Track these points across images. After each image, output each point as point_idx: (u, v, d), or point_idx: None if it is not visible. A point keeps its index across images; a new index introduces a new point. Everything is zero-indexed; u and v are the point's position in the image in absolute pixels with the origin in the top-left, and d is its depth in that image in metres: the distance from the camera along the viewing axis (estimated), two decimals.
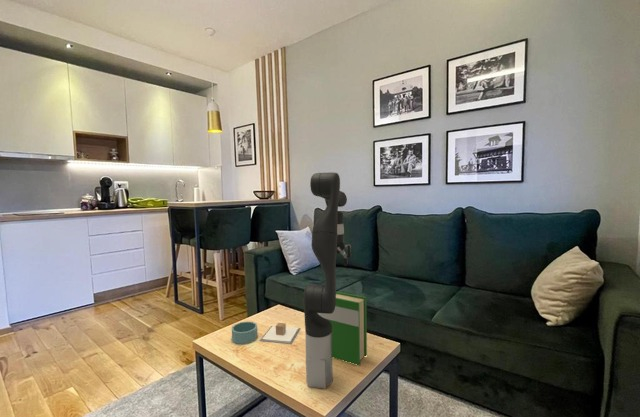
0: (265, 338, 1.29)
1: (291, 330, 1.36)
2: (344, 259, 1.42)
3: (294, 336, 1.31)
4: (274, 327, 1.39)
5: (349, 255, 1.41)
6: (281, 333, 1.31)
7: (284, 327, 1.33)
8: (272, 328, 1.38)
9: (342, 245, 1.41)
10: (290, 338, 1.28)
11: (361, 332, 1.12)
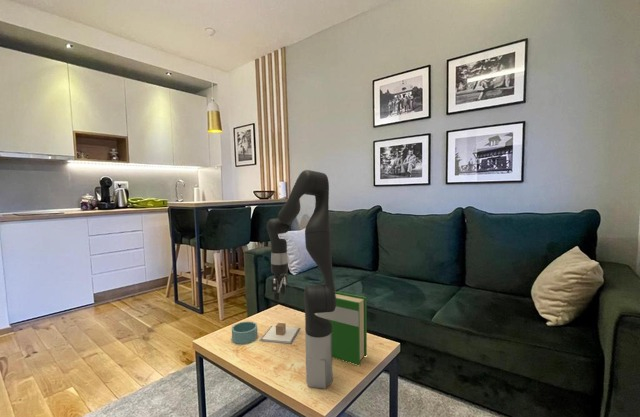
0: (265, 338, 1.29)
1: (291, 330, 1.36)
2: (285, 287, 1.36)
3: (294, 336, 1.31)
4: (274, 327, 1.39)
5: None
6: (281, 333, 1.31)
7: (284, 327, 1.33)
8: (272, 328, 1.38)
9: (284, 273, 1.35)
10: (290, 338, 1.28)
11: (361, 332, 1.12)
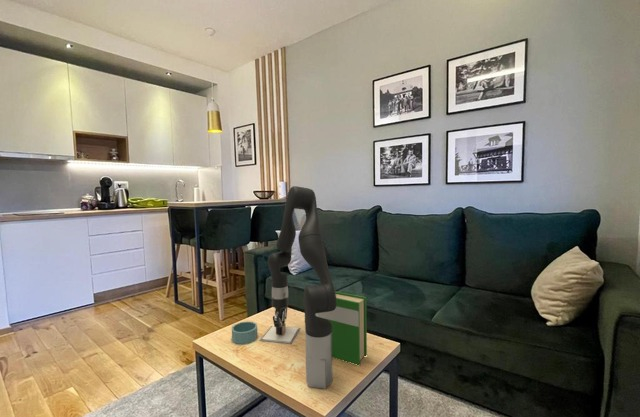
0: (265, 338, 1.29)
1: (291, 330, 1.36)
2: None
3: (294, 336, 1.31)
4: (274, 327, 1.39)
5: (286, 317, 1.37)
6: None
7: (284, 327, 1.33)
8: (272, 328, 1.38)
9: None
10: (290, 338, 1.28)
11: (361, 332, 1.12)
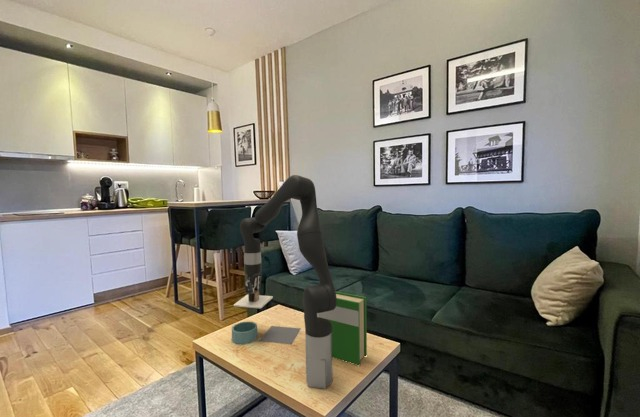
0: (237, 304, 1.27)
1: (265, 298, 1.33)
2: None
3: (294, 336, 1.31)
4: (248, 295, 1.37)
5: (260, 284, 1.35)
6: None
7: (257, 294, 1.31)
8: (246, 296, 1.36)
9: (258, 273, 1.33)
10: (262, 304, 1.26)
11: (361, 332, 1.12)
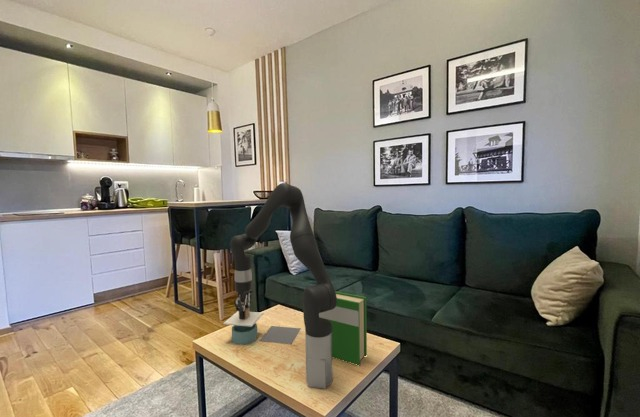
0: (227, 322, 1.25)
1: (255, 315, 1.33)
2: None
3: (294, 336, 1.31)
4: None
5: (250, 301, 1.34)
6: None
7: (248, 311, 1.30)
8: (237, 313, 1.35)
9: (249, 290, 1.33)
10: (253, 322, 1.25)
11: (361, 332, 1.12)
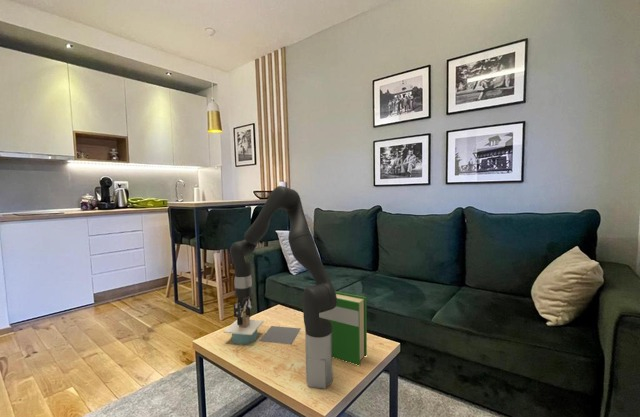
0: (227, 330, 1.25)
1: (255, 323, 1.33)
2: (250, 310, 1.33)
3: (294, 336, 1.31)
4: None
5: (252, 304, 1.36)
6: (244, 325, 1.28)
7: (248, 319, 1.30)
8: None
9: None
10: (253, 330, 1.25)
11: (361, 332, 1.12)
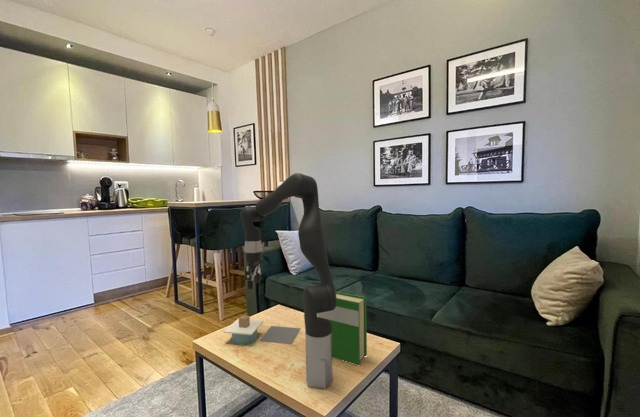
0: (227, 330, 1.25)
1: (255, 323, 1.33)
2: (259, 276, 1.35)
3: (294, 336, 1.31)
4: (239, 320, 1.36)
5: (261, 270, 1.37)
6: (244, 325, 1.28)
7: (248, 319, 1.30)
8: (237, 321, 1.35)
9: (258, 262, 1.34)
10: (253, 330, 1.25)
11: (361, 332, 1.12)
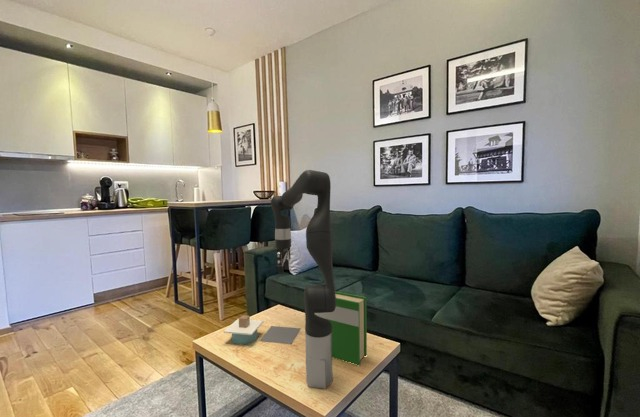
0: (227, 330, 1.25)
1: (255, 323, 1.33)
2: (288, 262, 1.41)
3: (294, 336, 1.31)
4: (239, 320, 1.36)
5: (290, 257, 1.44)
6: (244, 325, 1.28)
7: (248, 319, 1.30)
8: (237, 321, 1.35)
9: (287, 249, 1.40)
10: (253, 330, 1.25)
11: (361, 332, 1.12)
